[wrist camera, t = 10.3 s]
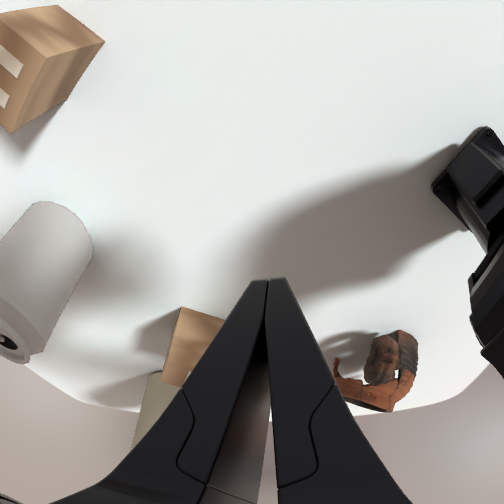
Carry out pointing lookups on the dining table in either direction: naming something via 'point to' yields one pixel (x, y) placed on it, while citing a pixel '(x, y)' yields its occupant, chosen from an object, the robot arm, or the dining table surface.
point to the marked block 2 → (188, 344)
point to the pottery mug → (382, 373)
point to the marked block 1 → (40, 61)
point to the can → (39, 276)
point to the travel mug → (153, 405)
